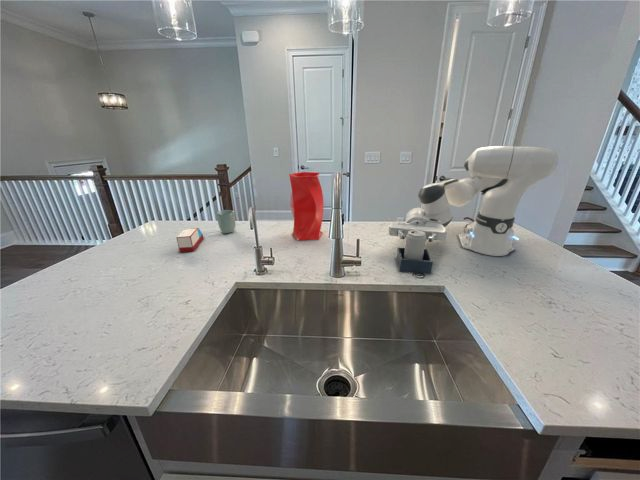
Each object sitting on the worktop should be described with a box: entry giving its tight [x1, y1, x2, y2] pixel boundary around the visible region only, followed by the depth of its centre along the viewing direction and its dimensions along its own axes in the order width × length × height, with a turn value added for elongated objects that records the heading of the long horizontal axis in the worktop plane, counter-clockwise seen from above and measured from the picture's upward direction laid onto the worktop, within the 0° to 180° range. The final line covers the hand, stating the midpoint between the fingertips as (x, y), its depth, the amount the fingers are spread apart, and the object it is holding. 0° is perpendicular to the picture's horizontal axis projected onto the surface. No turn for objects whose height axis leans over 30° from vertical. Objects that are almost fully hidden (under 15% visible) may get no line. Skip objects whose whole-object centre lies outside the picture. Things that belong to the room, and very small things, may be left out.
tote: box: [396, 247, 434, 275], centre depth 91 cm, size 10×10×5 cm
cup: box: [216, 209, 237, 234], centre depth 125 cm, size 8×8×10 cm
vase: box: [288, 171, 324, 241], centre depth 115 cm, size 15×14×28 cm
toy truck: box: [176, 227, 204, 253], centre depth 111 cm, size 6×15×7 cm, turn 8°
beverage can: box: [403, 230, 427, 260], centre depth 90 cm, size 6×6×12 cm
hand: (416, 238), depth 91 cm, fingers open, 8 cm apart
